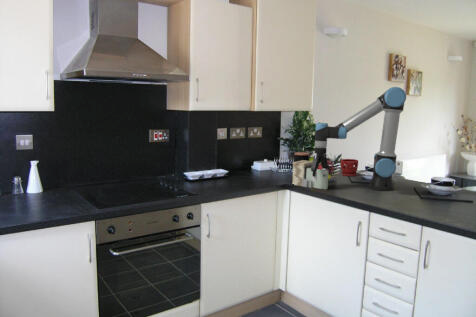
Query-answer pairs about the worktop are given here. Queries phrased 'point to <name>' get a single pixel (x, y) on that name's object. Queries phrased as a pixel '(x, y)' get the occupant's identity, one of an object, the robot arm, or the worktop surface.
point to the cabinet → (300, 171)
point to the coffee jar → (301, 156)
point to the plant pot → (349, 167)
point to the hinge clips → (306, 182)
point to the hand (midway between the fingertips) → (319, 179)
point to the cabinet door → (318, 178)
